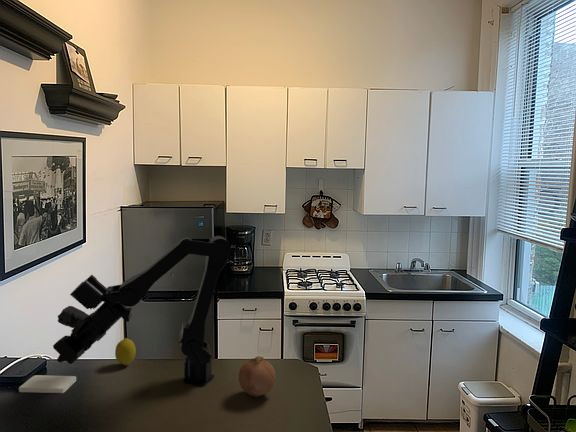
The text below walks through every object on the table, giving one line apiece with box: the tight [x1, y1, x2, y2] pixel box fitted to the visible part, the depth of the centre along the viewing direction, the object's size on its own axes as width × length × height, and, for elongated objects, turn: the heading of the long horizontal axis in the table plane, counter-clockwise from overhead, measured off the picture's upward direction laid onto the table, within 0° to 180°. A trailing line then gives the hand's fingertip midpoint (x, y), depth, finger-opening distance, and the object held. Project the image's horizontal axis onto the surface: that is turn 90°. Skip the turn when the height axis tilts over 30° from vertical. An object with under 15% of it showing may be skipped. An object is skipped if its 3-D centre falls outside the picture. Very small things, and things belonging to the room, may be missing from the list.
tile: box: [18, 374, 77, 394], centre depth 117 cm, size 2×7×11 cm
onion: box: [238, 355, 277, 398], centre depth 115 cm, size 10×9×10 cm
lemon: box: [114, 337, 137, 366], centre depth 131 cm, size 6×6×8 cm
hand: (58, 360), depth 116 cm, fingers closed
